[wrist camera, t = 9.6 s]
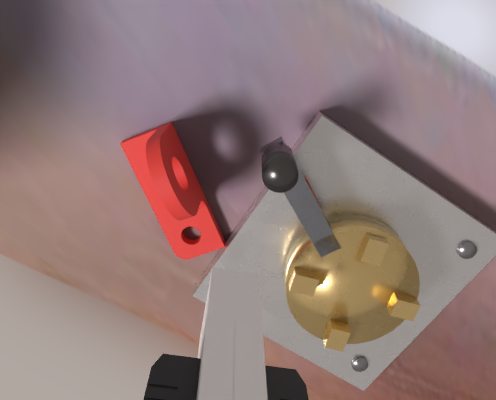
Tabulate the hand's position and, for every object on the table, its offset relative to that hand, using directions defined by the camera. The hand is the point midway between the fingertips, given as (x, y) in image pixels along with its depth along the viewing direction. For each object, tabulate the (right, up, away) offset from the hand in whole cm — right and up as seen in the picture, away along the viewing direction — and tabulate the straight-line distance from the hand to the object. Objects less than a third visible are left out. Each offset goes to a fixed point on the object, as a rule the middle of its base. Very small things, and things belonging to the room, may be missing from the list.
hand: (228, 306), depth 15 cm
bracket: (-6, +4, +27) cm, 27 cm away
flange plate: (+9, -2, +28) cm, 30 cm away
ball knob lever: (+7, +1, +25) cm, 26 cm away
